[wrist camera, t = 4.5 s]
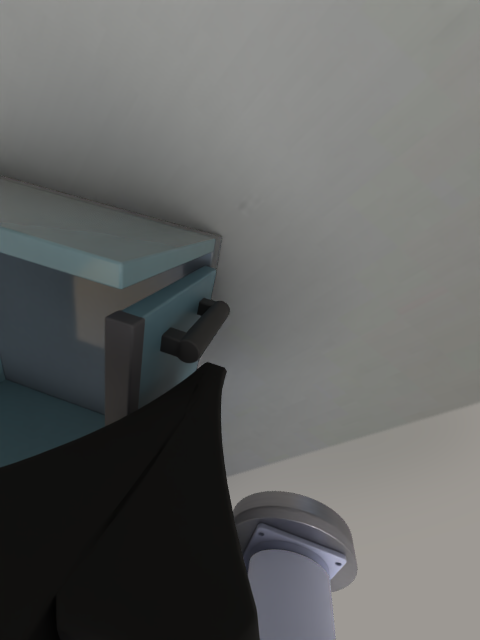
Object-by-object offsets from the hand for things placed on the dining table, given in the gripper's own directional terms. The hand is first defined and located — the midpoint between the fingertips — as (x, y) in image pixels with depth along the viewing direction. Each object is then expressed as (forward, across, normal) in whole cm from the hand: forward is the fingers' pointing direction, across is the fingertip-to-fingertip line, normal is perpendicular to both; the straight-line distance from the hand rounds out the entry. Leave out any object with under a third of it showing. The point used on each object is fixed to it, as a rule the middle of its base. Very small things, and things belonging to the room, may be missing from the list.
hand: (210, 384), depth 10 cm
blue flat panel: (+3, +1, +2) cm, 4 cm away
